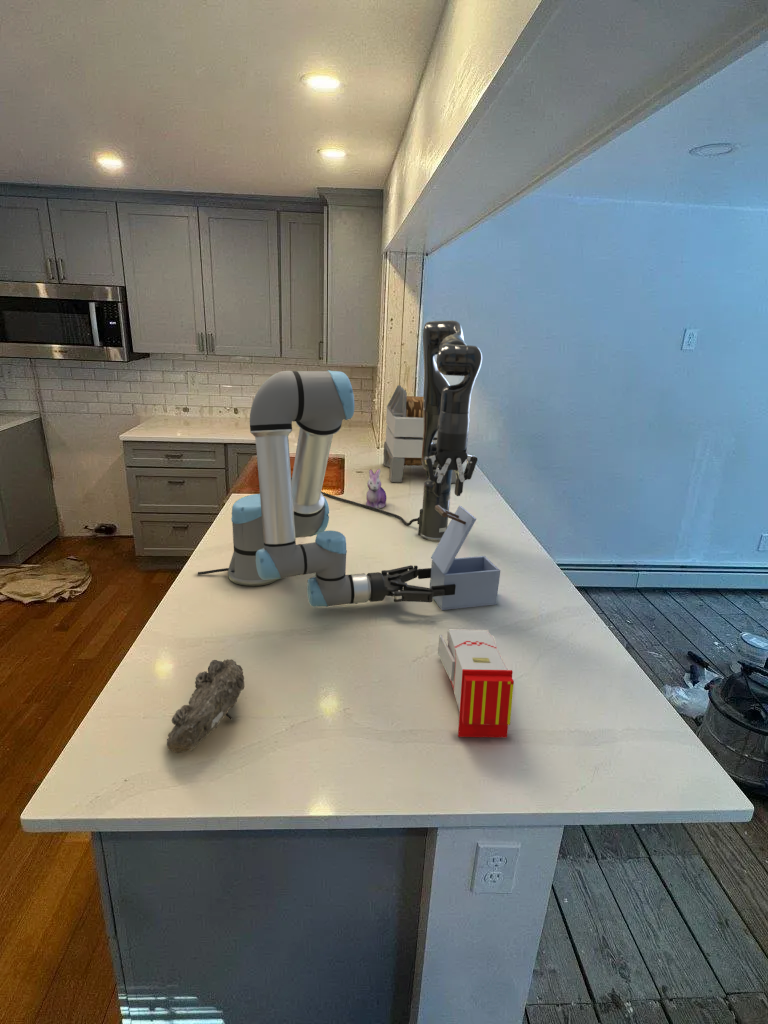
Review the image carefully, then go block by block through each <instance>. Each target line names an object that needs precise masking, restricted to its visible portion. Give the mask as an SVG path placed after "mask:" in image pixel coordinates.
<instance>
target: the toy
mask: <svg viewBox="0 0 768 1024" xmlns="http://www.w3.org/2000/svg"><path fill="white" fill-rule="evenodd" d="M446 640H447V643H446V641H445V639H444V636H443V635H442V634H439V637H438V646H437V656H438V657H439V659H440V661H441V663H442V666H443V668H444V670H445V672H446V674H447V677H448V679H449V681H450V684H451V687H452V690H453V693H454V697H455V701H456V705H457V708H458V711H459V714H458V715H459V716H458V730H457V731H458V732H457V737H458V738H508V731H509V726H510V725H511V717H512V707H513V697H514V696H513V695H514V684H515V680H514V679H513V673H514V671H513V670H512V669H508V667H507V665H506V662H505V661H504V659H503V658H502V655H501V653H500V651H499V649H498V647H497V643H496V639H495V637H494V635H493V634H491V632H490V631H489V629H467V628H466V629H465V628H463V629H461V628H460V629H459V628H448V630H447V639H446Z"/></svg>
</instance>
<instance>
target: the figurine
mask: <svg viewBox="0 0 768 1024" xmlns="http://www.w3.org/2000/svg"><path fill="white" fill-rule="evenodd" d="M380 475H381V468H378V469H377V470H376V471H375V472H373V470H372V469H369V470H368V476H369V479H368V481H367V483H366V485H367V488H368V490H367V491H366V502H365V505H367V506H370V507H374V508H377V509H382V508H384V507H386V503H387V493H386V491H385V489H384V488H383V487H382V481H381V479H380Z"/></svg>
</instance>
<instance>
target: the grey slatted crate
mask: <svg viewBox="0 0 768 1024" xmlns="http://www.w3.org/2000/svg"><path fill="white" fill-rule="evenodd" d="M407 394H408V393H407V390H406V389H404V388H403V387H402V385H399V384H398V385H397V386H396V388H395V390H394V392H393V394H392V395H391V398H390V400H389V402H388V404H387V405H386V413H385V414H386V415H385V423H386V428H385V438H384V442H383V466H384V467H388V468H389V475H388V476H389V477H388V478H389V480H390V482H391V483H402V482H403V475H404V469H405V466H406V467H407V466H411V467H412V466H413V467H415V466H416V467H417V466H418V467H423V466H422V461H421V457H422V443H423V426H424V425H423V396H415V395H414V396H413V395H412V396H411V395H407ZM437 434H438V432H437V433H436V435H435V437H434V439H433V441H432V442H433V443H437ZM456 480H457V477H456V473H455V471H454V470H452V479H451V484H455V482H456Z"/></svg>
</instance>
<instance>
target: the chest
mask: <svg viewBox="0 0 768 1024" xmlns="http://www.w3.org/2000/svg"><path fill="white" fill-rule="evenodd" d="M430 566H431V567H430V568H431V577H430V578H429V588H431V586H440V585H451V584H455V585H456V588H455V595H446V596H435V597H433V598H432V600H434V602H435V603H436V605H437V606H438V608H439V610H441V611H447V610H457V609H467V608H475V607H484V606H486V607H487V606H493V605H497V601H498V592H499V585H500V577H501V570H500V568H498V567H497V565H495V564H494V563H493V562H492V560H490V559H489V558H488V557H487V556H486V555H478V556H477V555H476V556H466V557H455V559H454V561H453V562H452V564H451V566H450V568H449V570H448V572H447V573H446V574H444V573H443V572H442V571H441V570H440V568H439V567H438V566H437V565H436V564H435V562H434V561H433V560H432V559H431V565H430Z"/></svg>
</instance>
